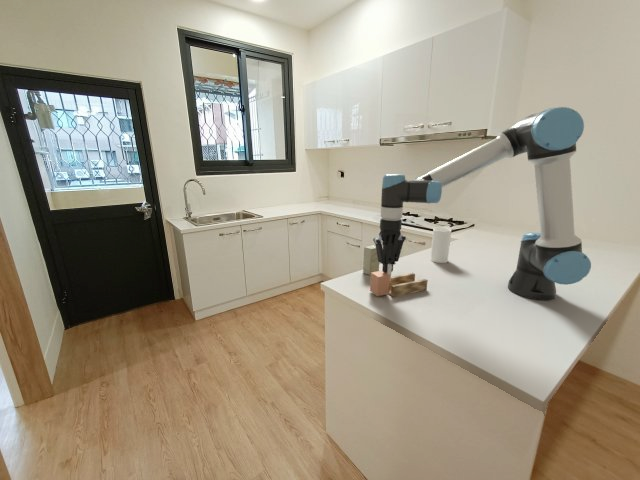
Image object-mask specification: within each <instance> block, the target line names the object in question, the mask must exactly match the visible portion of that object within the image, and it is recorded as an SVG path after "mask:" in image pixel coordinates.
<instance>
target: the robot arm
mask: <svg viewBox="0 0 640 480" xmlns="http://www.w3.org/2000/svg"><path fill="white" fill-rule="evenodd" d="M584 128H585V122H584V119H583V117H582V115H581V114H580V113H579V112H578V111H577V110H575V109H573V108H570V107H566V106H558V107H552V108H547V109H545V110H542V111H539V112H537V113H534V114H530V115H528V116H525V118H523V119H521V120H519V121H518V122H516V123H515V124H513V125H512V126H510V127H508V128H506V129H505V130H503V131H501V132H499V133H498V134H497V137H495V138H494V139H492V140H490V141H488V142H486V143H484V144H482V145H480V146H478V147H476V148H473V149H472V150H470V151H468V152H466V153H464V154H462V155H460V156H459V157H455V158H454V159H453V160H451V161H448V162H446V163H444V164H443V165H441V166H438V167H437V168H435V169H433V170H430V171H429V172H427V173H426V174H425V173H424V174H423V175H421V176H419V177H415V178H413V179H412V180H408V179H406V176H405V174H403V173H401V174H400V173H386V174H385V175H383V177H382V185H381V202H380V203H381V204H380V205H381V206H380V221H379V229H380V231H379V233H378V236H377V237H373V240H372V241H373V243H374V245H375V246H376V251H377V257H378V262H379V264H380V263H381V264H382V270H381V271H383V272H384V273H387V274H389V275H390V281H391V277H392V272H393V271H394V265H396V262H399V259H400V256H401V253H402V248H403V245H404V242H405V240H406V239H407V237H406V236H405V235H402V232H401V230H402V224H403V223H402V221H403V220H402V218H403V212H404V211H403V209H404V203H417V204H418V203H420V204H421V203H423V204H438V203H439V202H440V201H441V198H442V191H443V188H445V187H447V186H450V185H451V184H453V183H456V182H457V181H459V180H461V179H464V178H466V177H469V176H470V175H473V174H474V173H476V172H479V171H480V170H482V169H484V168H487V167H488V166H491V165H493V164H495V163H497V162H499V161H502V160H504V159H506V158H508V159H512V158H514V157H516V156H518V155H522V154H524V153H526V155H527V161H529V162H530V163H531V164H533V165H534V177H535V188H536V199H537V211H538V212H537V213H538V221H539V222H538V223H539V232H525V233H524V234H523V235H522V237H521V240H520V246H519V251H518V252H519V253H518V259H517V262H516V264H517V265H516V269H515V271H514V272H513V274H512V276H510V279H509V280H508V284H507V289H508V290H509V291H511V292H512V293H514V294H516V295H518V296H522V297H524V298H529V299H533V300H538V301H549V300H553V299H555V298H556V295H557V288H556V284H558V285H573V284H576V283H579V282H580V281H582V280H583V279H584V278H586V277H587V276H588V275H589V274H590V271H591V268H592V263H591V262H592V261H591V259H590V258H589V257H588V255H586V253H584V252H583V245H582V243H583V242H582V239H581V238H580V237H578V236H577V235H576V233H575V219H574V204H573V202H574V201H573V190H572V188H573V186H572V170H571V158H572V157H573V156H574V155H575V153H577V142H578V141H579V139H580V138H581V136H583V134H584Z"/></svg>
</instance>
